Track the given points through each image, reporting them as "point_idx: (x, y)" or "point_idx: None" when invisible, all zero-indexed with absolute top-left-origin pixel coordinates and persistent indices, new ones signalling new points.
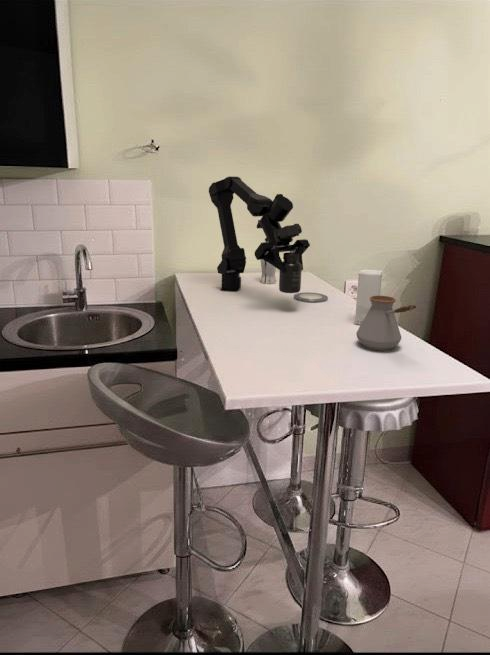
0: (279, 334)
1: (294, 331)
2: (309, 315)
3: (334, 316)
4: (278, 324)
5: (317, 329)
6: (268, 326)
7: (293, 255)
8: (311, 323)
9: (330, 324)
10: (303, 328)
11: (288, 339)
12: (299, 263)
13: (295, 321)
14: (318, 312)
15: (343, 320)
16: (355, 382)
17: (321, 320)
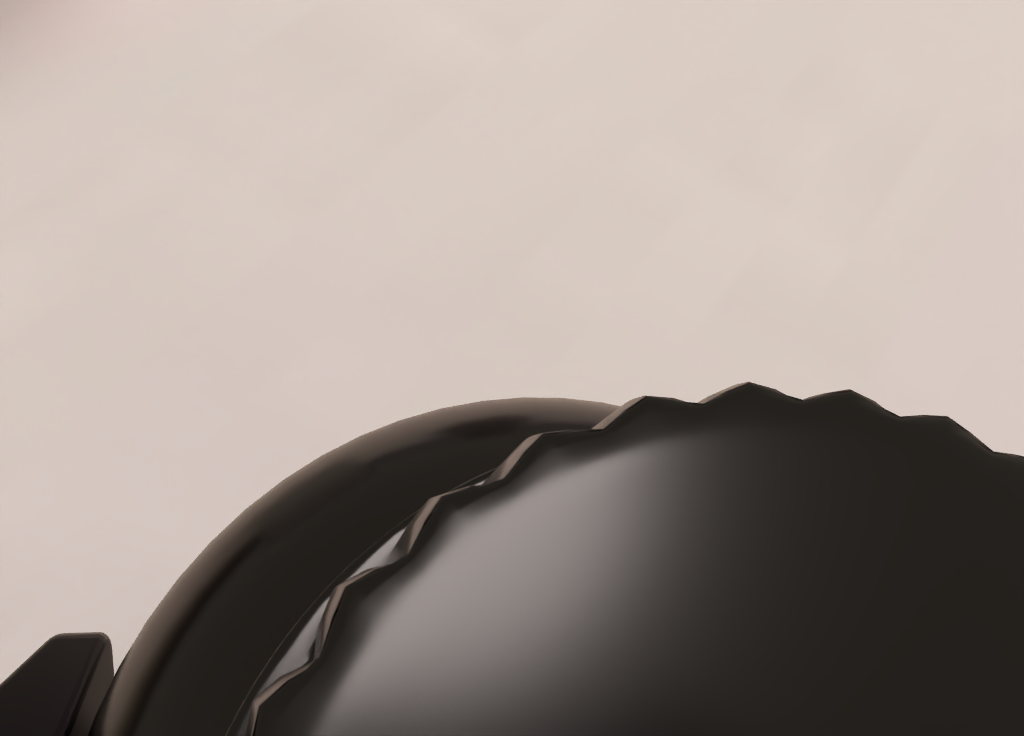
0: (935, 130)
1: (781, 113)
2: (277, 421)
3: (23, 224)
4: (810, 343)
5: (559, 36)
6: (927, 345)
7: (947, 439)
8: (484, 187)
9: (329, 60)
10: (659, 125)
11: (924, 14)
12: (377, 483)
13: (593, 327)
14: (50, 467)
15: (75, 67)
16: None
17: (305, 200)
